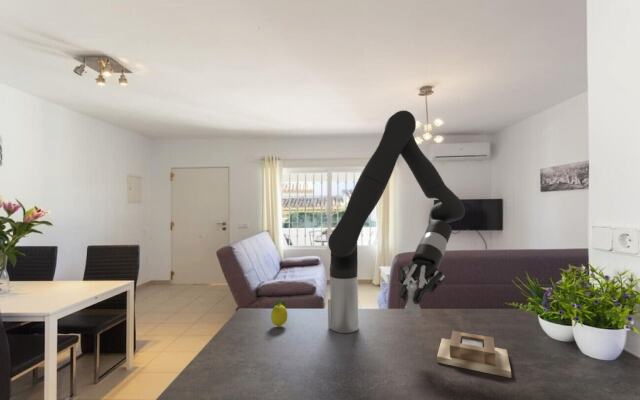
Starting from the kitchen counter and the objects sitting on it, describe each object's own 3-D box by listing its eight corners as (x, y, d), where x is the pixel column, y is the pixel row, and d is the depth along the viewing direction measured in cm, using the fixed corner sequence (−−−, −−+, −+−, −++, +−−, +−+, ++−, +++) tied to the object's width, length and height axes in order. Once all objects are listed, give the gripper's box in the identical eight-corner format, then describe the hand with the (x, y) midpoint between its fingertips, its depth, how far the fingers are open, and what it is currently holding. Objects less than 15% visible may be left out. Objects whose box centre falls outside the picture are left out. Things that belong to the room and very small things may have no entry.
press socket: (437, 362, 76) (436, 344, 76) (442, 343, 86) (441, 327, 87) (511, 378, 68) (510, 358, 68) (506, 355, 79) (506, 338, 79)
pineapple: (272, 332, 96) (272, 301, 96) (266, 326, 101) (266, 296, 101) (291, 328, 99) (291, 298, 100) (285, 322, 104) (284, 293, 105)
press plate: (461, 348, 76) (461, 345, 76) (462, 341, 81) (462, 338, 81) (482, 352, 74) (482, 349, 74) (482, 344, 78) (482, 341, 78)
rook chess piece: (422, 317, 78) (422, 286, 79) (405, 316, 79) (404, 286, 79) (420, 311, 83) (419, 282, 83) (403, 310, 84) (403, 282, 84)
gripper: (404, 240, 92) (380, 287, 83) (449, 244, 81) (428, 298, 73) (413, 256, 95) (392, 302, 87) (458, 261, 85) (438, 315, 76)
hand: (408, 300), depth 80 cm, fingers closed on rook chess piece, 3 cm apart
